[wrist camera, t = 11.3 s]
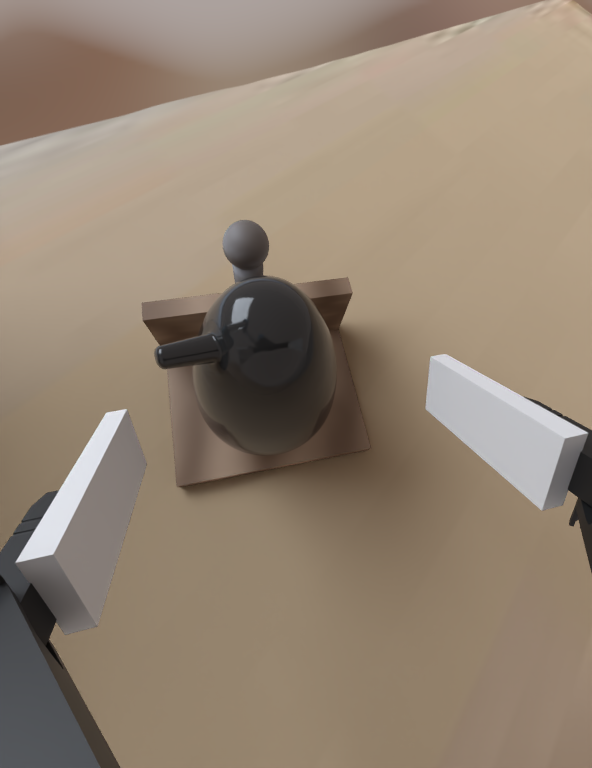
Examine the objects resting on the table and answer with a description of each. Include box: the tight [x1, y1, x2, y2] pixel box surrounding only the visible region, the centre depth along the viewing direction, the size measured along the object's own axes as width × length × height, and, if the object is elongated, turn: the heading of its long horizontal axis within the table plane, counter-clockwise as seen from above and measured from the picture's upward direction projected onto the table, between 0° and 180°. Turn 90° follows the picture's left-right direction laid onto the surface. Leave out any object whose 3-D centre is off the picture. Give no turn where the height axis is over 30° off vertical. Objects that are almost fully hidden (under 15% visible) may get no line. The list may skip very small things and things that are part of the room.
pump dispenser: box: [154, 276, 337, 456], centre depth 22 cm, size 10×10×15 cm
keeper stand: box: [142, 220, 371, 487], centre depth 24 cm, size 16×14×14 cm
